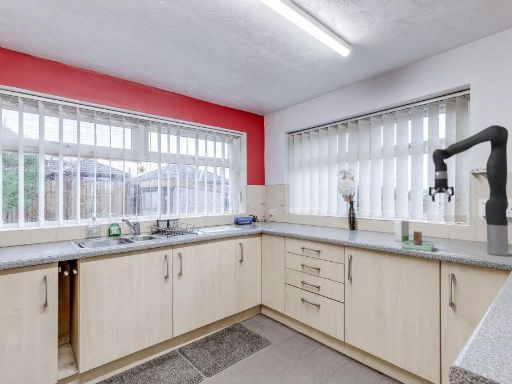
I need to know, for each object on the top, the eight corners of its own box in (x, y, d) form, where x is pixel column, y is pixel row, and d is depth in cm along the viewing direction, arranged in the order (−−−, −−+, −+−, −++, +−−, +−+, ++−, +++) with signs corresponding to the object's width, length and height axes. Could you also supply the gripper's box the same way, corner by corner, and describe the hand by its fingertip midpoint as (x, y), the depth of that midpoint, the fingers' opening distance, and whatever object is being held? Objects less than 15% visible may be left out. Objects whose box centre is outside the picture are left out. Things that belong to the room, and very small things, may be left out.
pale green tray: (434, 248, 177) (433, 243, 177) (430, 251, 166) (430, 246, 166) (406, 245, 187) (406, 241, 187) (401, 248, 177) (401, 243, 177)
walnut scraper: (421, 247, 177) (421, 231, 177) (420, 247, 174) (420, 232, 174) (414, 246, 180) (414, 231, 180) (413, 247, 177) (413, 231, 177)
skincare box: (401, 242, 202) (401, 221, 202) (394, 240, 208) (393, 220, 209) (409, 241, 205) (409, 220, 206) (401, 240, 211) (401, 220, 212)
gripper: (428, 178, 188) (428, 201, 188) (453, 177, 179) (453, 202, 179) (429, 179, 194) (429, 201, 193) (454, 178, 185) (454, 202, 184)
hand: (441, 201), depth 186 cm, fingers open, 8 cm apart
